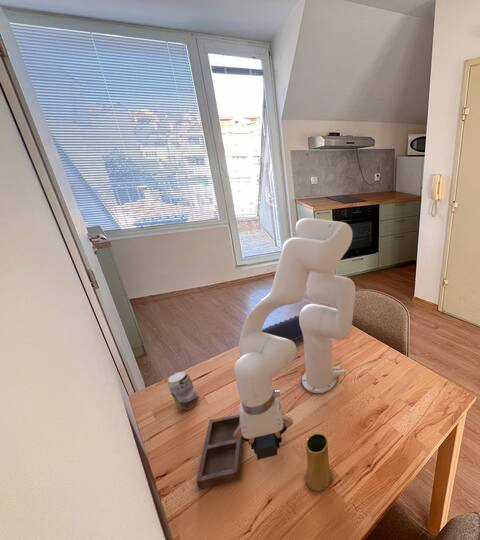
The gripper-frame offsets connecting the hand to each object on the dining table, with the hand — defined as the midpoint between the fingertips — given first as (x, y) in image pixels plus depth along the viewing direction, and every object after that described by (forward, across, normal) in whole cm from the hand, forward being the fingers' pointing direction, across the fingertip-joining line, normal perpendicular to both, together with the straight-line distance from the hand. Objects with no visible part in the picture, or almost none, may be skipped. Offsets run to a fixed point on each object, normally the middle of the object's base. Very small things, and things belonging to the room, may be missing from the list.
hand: (267, 445), depth 79 cm
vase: (+6, -12, +9) cm, 16 cm away
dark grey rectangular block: (0, 0, 0) cm, 0 cm away
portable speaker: (+7, -7, -51) cm, 52 cm away
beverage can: (+6, +26, -25) cm, 37 cm away
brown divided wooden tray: (+5, +12, -5) cm, 15 cm away
